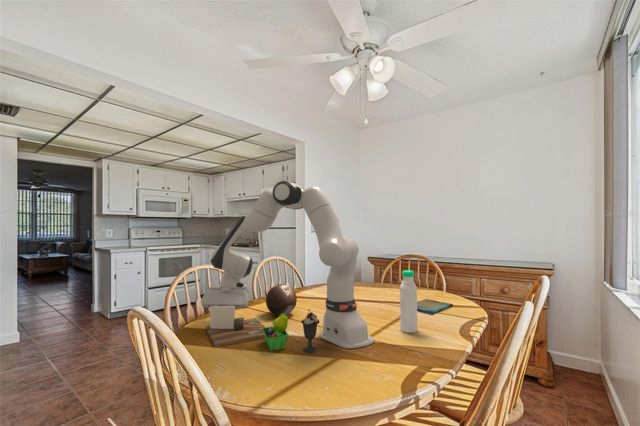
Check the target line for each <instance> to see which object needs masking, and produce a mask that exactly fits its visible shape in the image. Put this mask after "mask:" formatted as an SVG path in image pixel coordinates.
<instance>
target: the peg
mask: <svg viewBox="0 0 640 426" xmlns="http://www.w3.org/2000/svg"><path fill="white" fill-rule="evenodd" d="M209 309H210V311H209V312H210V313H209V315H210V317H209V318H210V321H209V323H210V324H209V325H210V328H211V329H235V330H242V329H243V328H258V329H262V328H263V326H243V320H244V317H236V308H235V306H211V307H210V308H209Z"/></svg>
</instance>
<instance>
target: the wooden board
mask: <svg viewBox="0 0 640 426" xmlns="http://www.w3.org/2000/svg"><path fill="white" fill-rule="evenodd" d="M243 326H263V328H266V326H265V325H264V324H263V323H261V322H260V321H259V319H257V318H250V319H249V318H248V319H243ZM263 328H262V329H258V328H243V329H242V330H235V329H211V328H210V324H209V325H205V331H206V330H207V331H206V332H208V333H207V335H208V337H209V339H210V340H211V342H212V344H213V346H214V348H217V347H218V346H219V347H223V345H224V346H228V344H229V345H233V344H238V343H245V342H249V340H250V341H253V340H259V339H265V335H264V332H263Z"/></svg>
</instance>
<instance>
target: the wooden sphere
mask: <svg viewBox="0 0 640 426" xmlns="http://www.w3.org/2000/svg"><path fill="white" fill-rule="evenodd" d="M265 304H266V308H267V309H268V311H269V312H270V313H271V314H272V315H274V316H277V317H280V315H281V314H282V313H284V314H286V315H287V316H288V315H289V314H291V313H292V312H293V311H294V309H295V307H296V305H297V295H296V291H295V290H294V288H292V287H291V286H290V285H287V284H284V283H283V284H282V283H280V284H276V285H274V286H273V287H271V288H270V289H269V290H268V291H267V294H266V297H265Z"/></svg>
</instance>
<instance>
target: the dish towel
mask: <svg viewBox="0 0 640 426" xmlns="http://www.w3.org/2000/svg"><path fill="white" fill-rule="evenodd" d="M451 306H452V307H453V306H454V304H453V303H450V302H444V301H438V300H433V299H429V298H425V299H421V300H417V311H418V312H417V313H421V314H427V315H430V316H431V315H436V314H438V313H439V312H441V311H444V310H446V309H449V308H451Z"/></svg>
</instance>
